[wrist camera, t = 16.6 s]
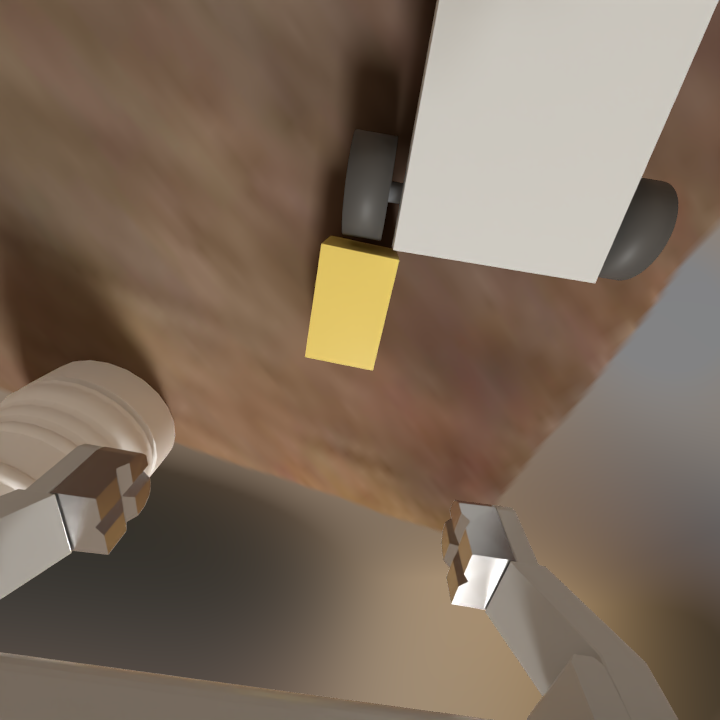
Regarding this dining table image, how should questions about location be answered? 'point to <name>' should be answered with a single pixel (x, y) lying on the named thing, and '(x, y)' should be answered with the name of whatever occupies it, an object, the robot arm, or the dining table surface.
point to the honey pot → (80, 420)
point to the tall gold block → (350, 301)
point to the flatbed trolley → (535, 137)
